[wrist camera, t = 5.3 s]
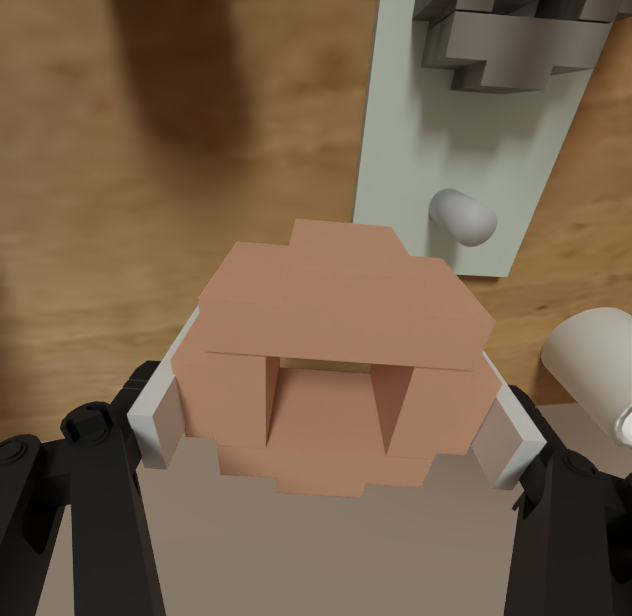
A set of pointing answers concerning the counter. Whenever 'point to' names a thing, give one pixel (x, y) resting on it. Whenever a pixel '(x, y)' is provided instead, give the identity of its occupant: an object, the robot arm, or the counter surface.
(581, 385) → the mug
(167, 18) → the counter surface
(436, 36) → the gear
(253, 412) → the gear
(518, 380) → the counter surface
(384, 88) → the board
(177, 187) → the counter surface
